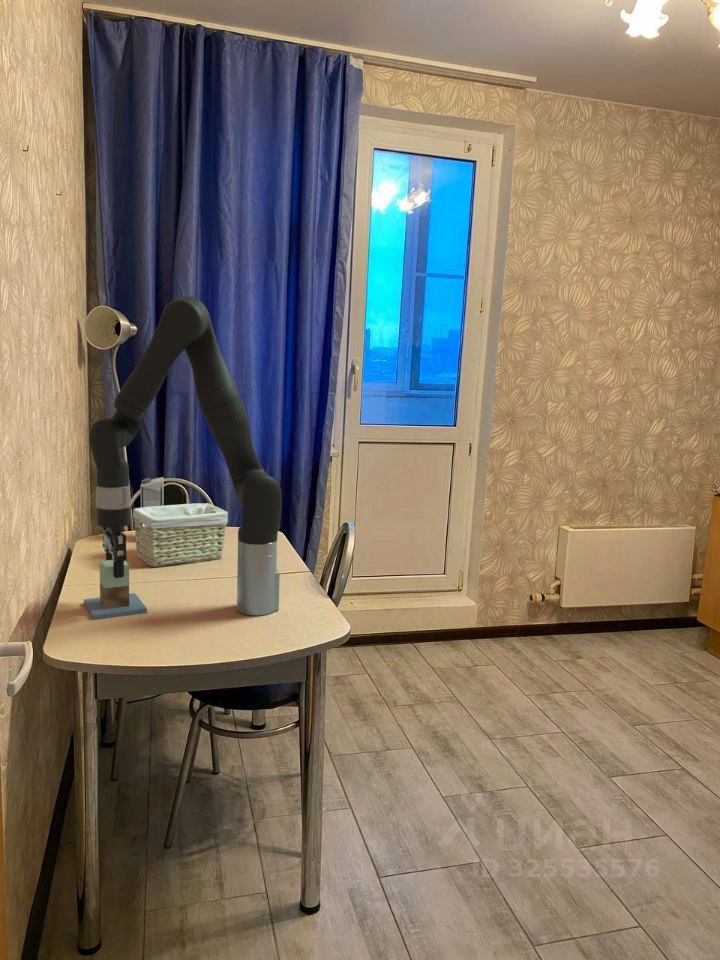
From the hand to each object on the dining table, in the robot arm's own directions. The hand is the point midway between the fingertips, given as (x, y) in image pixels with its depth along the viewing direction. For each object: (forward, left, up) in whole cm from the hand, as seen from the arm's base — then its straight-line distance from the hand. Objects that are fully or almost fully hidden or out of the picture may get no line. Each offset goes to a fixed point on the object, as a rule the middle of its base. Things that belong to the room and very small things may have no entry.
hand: (114, 572), depth 173 cm
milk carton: (-24, -59, -9) cm, 64 cm away
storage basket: (-26, -36, -9) cm, 45 cm away
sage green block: (0, 0, -3) cm, 3 cm away
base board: (0, 0, -9) cm, 9 cm away
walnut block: (0, 0, -8) cm, 8 cm away
